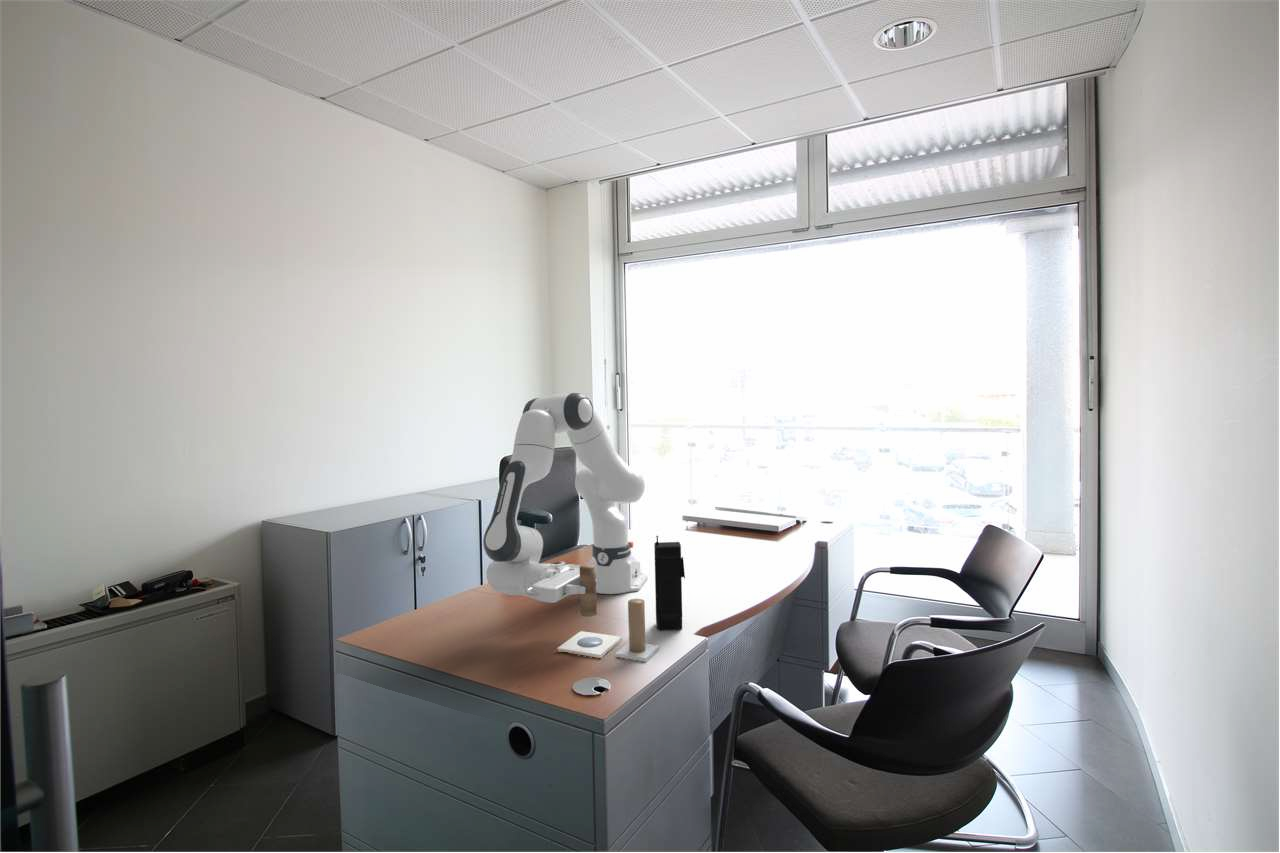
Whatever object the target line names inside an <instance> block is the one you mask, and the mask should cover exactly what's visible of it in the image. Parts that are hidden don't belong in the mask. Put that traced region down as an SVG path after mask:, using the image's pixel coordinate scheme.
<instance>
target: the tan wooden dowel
mask: <svg viewBox="0 0 1280 853" xmlns="http://www.w3.org/2000/svg"><path fill="white" fill-rule="evenodd" d="M645 607H646V605H645V600H644V599H642V598H632V599H629V600H627V617H628V618H627V619H628V642H627V643H626V644H625V645H623V646H622V647H621V648H620V649H619V650H618V651H616V653H615V657H616V656H617V657H621V658H620V659H622V658H628V659H634V660H633V661H635V660H639V661H638V662H641V661H643V663H647V662H648V661H649V660H650V659H651V658H653V656H654V655H655V654H656V653H657V652H658V651H659V650H660V646H659V645H656V644H655V645H654V644H651V643H650V644H649V643H646V613H645V612H646V609H645ZM628 659H627V660H628Z"/></svg>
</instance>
